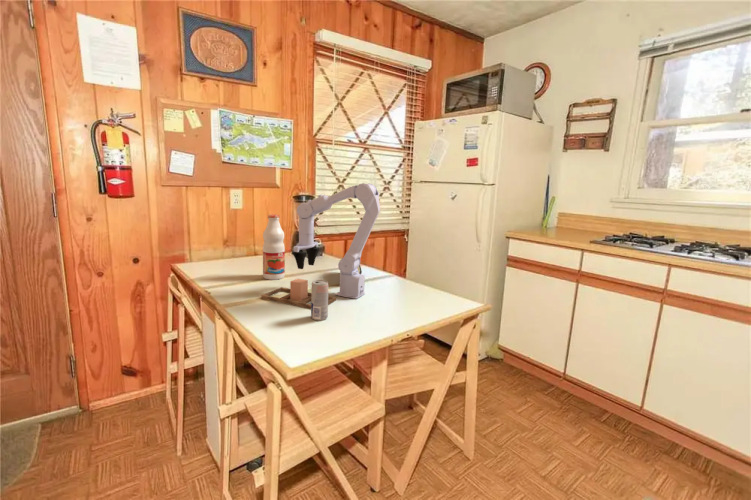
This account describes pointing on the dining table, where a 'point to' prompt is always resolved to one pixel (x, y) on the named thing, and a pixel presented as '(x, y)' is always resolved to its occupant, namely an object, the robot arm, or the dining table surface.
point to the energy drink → (319, 300)
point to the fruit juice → (273, 250)
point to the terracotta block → (298, 289)
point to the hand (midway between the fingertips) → (305, 266)
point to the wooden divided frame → (287, 300)
